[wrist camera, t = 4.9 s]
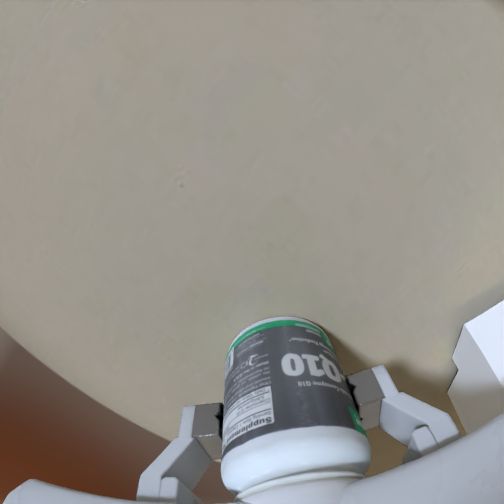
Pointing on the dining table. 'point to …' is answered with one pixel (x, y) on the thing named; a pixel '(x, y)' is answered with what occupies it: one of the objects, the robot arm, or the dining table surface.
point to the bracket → (479, 370)
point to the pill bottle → (289, 417)
